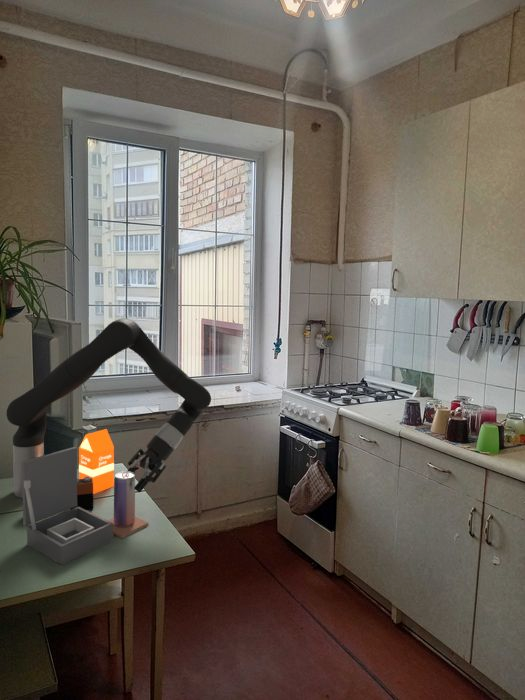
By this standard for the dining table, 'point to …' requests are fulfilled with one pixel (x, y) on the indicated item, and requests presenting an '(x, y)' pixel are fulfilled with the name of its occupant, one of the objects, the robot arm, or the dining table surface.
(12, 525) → the dining table surface
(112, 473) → the orange juice
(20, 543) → the dining table surface
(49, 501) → the equipment case
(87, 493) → the battery
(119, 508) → the beverage can
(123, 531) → the mat
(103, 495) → the dining table surface
